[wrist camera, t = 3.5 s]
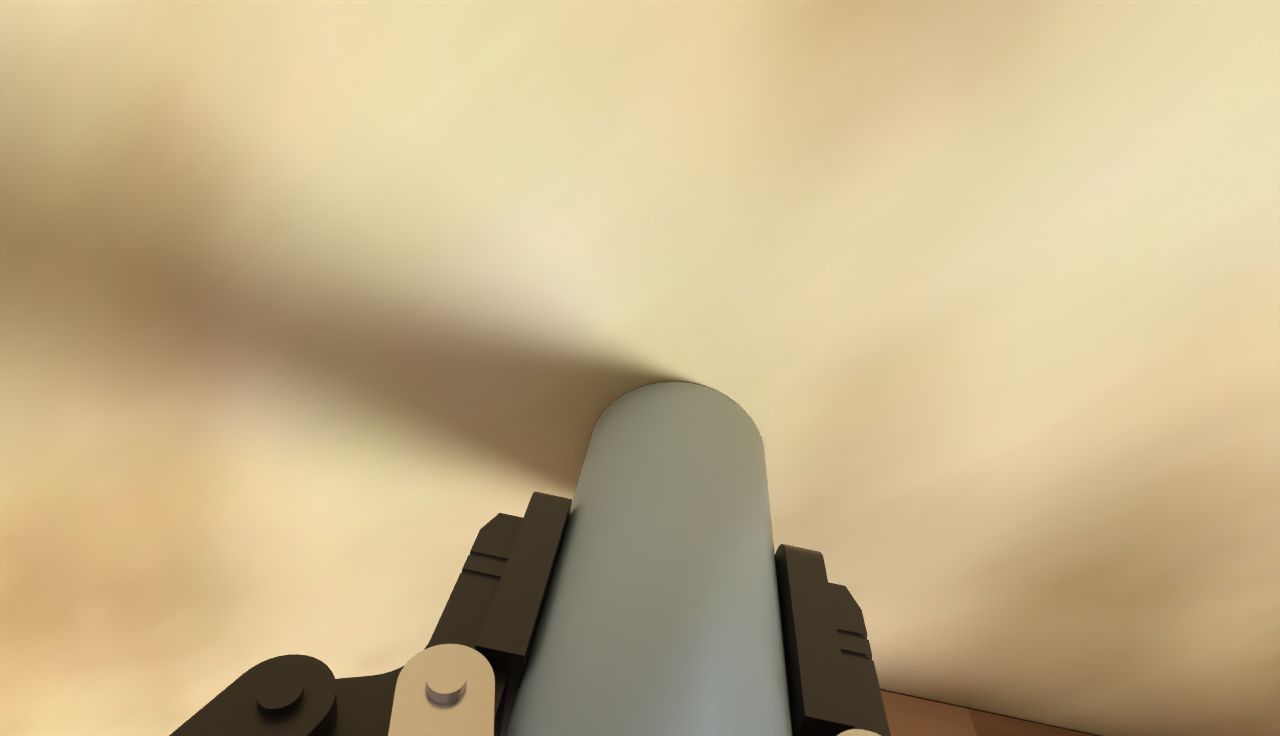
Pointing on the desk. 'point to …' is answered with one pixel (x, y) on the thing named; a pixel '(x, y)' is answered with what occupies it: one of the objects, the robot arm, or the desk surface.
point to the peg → (662, 582)
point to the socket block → (956, 720)
